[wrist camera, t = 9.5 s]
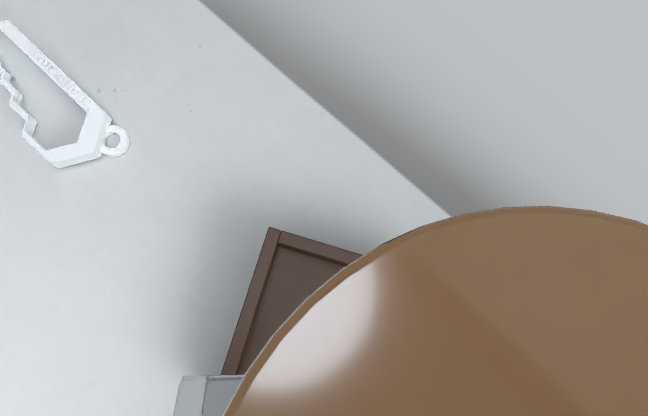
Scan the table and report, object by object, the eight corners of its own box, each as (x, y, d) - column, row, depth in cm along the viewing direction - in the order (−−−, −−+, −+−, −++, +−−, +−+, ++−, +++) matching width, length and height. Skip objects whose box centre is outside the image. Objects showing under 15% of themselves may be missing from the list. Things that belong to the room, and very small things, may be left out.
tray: (431, 285, 38) (449, 281, 34) (387, 456, 36) (399, 476, 31) (272, 236, 38) (268, 226, 34) (217, 404, 36) (206, 417, 31)
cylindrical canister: (457, 313, 20) (978, 320, 5) (416, 479, 19) (923, 1219, 4) (303, 266, 21) (312, 119, 5) (253, 429, 19) (51, 931, 4)
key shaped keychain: (-43, 69, 39) (-58, 58, 38) (11, 23, 40) (-1, 11, 38) (83, 191, 38) (73, 186, 36) (136, 141, 39) (128, 134, 37)
